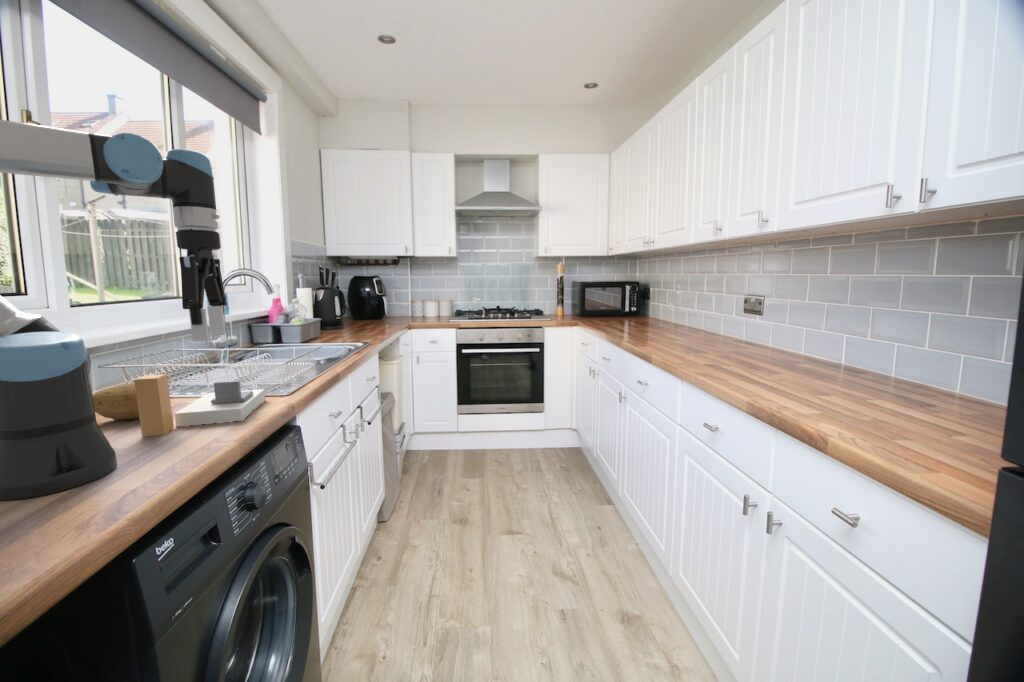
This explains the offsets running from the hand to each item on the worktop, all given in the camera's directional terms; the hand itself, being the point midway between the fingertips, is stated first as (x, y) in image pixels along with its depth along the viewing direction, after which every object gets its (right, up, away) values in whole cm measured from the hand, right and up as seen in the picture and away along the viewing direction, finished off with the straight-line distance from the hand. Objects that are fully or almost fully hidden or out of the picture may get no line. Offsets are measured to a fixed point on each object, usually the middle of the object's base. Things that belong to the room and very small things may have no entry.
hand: (209, 337), depth 97 cm
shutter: (-2, -15, +11) cm, 18 cm away
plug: (-9, -20, -3) cm, 22 cm away
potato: (-23, -19, +7) cm, 31 cm away
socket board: (-4, -18, +11) cm, 21 cm away
